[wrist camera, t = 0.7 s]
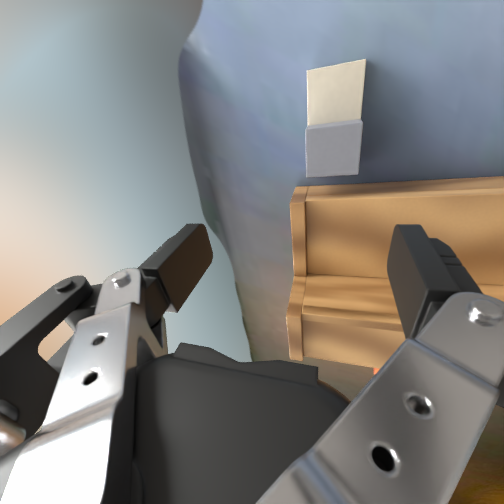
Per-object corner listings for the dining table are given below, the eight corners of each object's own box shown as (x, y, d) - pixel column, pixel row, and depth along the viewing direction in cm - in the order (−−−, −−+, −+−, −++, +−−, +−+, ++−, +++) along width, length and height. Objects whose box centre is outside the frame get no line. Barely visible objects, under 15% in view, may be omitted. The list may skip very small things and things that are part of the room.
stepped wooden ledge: (295, 186, 26) (277, 234, 18) (591, 171, 19) (794, 240, 11) (300, 293, 35) (290, 359, 26) (504, 310, 27) (578, 408, 19)
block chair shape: (308, 71, 20) (304, 69, 17) (364, 59, 19) (370, 55, 16) (309, 167, 24) (306, 177, 22) (355, 163, 23) (358, 174, 20)
